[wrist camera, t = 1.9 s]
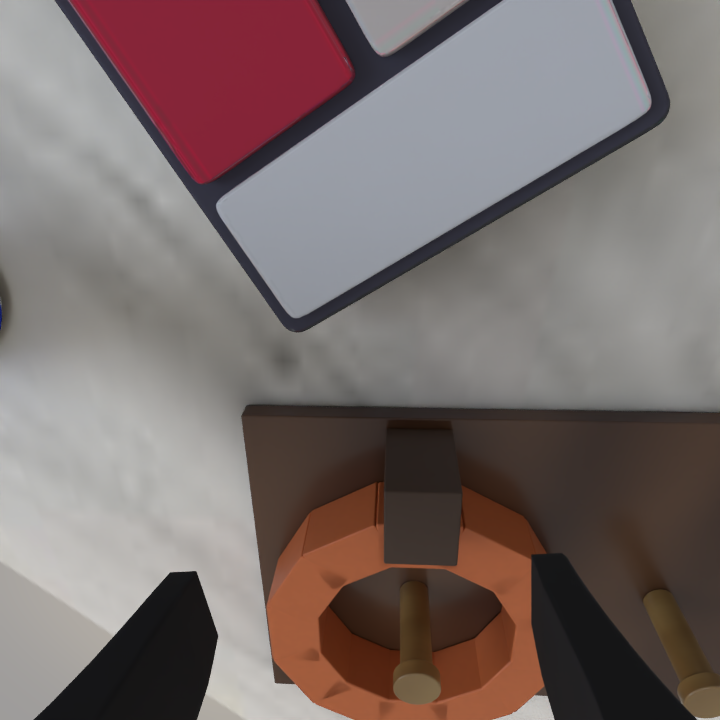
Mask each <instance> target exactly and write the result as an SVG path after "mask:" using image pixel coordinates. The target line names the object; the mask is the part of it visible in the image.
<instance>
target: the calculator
mask: <svg viewBox="0 0 720 720" xmlns="http://www.w3.org/2000/svg"><path fill="white" fill-rule="evenodd" d="M55 1H56V3H57V4H58V6H59V7H60V8H61V10H62V11H63V13H64V14H65V15H66V17H67V18H68V20H69V21H70V23H71V24H72V25H73V27H74V28H75V30H76V31H77V33H78V34H79V35H80V37H81V38H82V40H83V41H84V43H85V44H86V45H87V47H88V48H89V50H90V51H91V53H92V54H93V55H94V57H95V58H96V60H97V61H98V62H99V64H100V65H101V67H102V68H103V70H104V71H105V72H106V74H107V75H108V77H109V78H110V80H111V81H112V82H113V84H114V85H115V87H116V88H117V90H118V91H119V92H120V94H121V95H122V97H123V98H124V99H125V101H126V102H127V104H128V105H129V107H130V108H131V109H132V111H133V112H134V114H135V115H136V117H137V118H138V119H139V121H140V122H141V124H142V125H143V127H144V128H145V129H146V131H147V132H148V134H149V135H150V137H151V138H152V139H153V141H154V142H155V144H156V145H157V146H158V148H159V149H160V151H161V152H162V154H163V155H164V156H165V158H166V159H167V161H168V162H169V164H170V165H171V166H172V168H173V169H174V171H175V172H176V174H177V175H178V176H179V178H180V179H181V181H182V182H183V184H184V185H185V186H186V188H187V189H188V191H189V192H190V193H191V195H192V196H193V198H194V199H195V201H196V202H197V203H198V205H199V206H200V208H201V209H202V211H203V212H204V213H205V215H206V216H207V218H208V219H209V221H210V222H211V223H212V225H213V226H214V228H215V229H216V230H217V232H218V233H219V235H220V236H221V238H222V239H223V240H224V242H225V243H226V245H227V246H228V248H229V249H230V250H231V252H232V253H233V255H234V256H235V258H236V259H237V260H238V262H239V263H240V265H241V266H242V268H243V269H244V270H245V272H246V273H247V275H248V276H249V277H250V279H251V280H252V282H253V283H254V285H255V286H256V287H257V289H258V290H259V292H260V293H261V295H262V296H263V297H264V299H265V300H266V302H267V303H268V305H269V306H270V307H271V309H272V310H273V312H274V313H275V315H276V316H277V317H278V319H279V320H280V321H281V323H282V324H283V325H284V326H285V327H286V328H287V329H288V330H290V331H292V332H303V331H306V330H308V329H310V328H311V327H313V326H315V325H317V324H318V323H320V322H322V321H323V320H325V319H327V318H329V317H330V316H332V315H334V314H335V313H337V312H339V311H341V310H342V309H344V308H346V307H348V306H349V305H351V304H353V303H354V302H356V301H358V300H360V299H361V298H363V297H365V296H366V295H368V294H370V293H372V292H373V291H375V290H377V289H378V288H380V287H382V286H384V285H385V284H387V283H389V282H391V281H392V280H394V279H396V278H397V277H399V276H401V275H403V274H404V273H406V272H408V271H409V270H411V269H413V268H415V267H416V266H418V265H420V264H421V263H423V262H425V261H427V260H428V259H430V258H432V257H434V256H435V255H437V254H439V253H440V252H442V251H444V250H446V249H447V248H449V247H451V246H452V245H454V244H456V243H458V242H459V241H461V240H463V239H464V238H466V237H468V236H470V235H471V234H473V233H475V232H477V231H478V230H480V229H482V228H483V227H485V226H487V225H489V224H490V223H492V222H494V221H495V220H497V219H499V218H501V217H502V216H504V215H506V214H507V213H509V212H511V211H513V210H514V209H516V208H518V207H520V206H521V205H523V204H525V203H526V202H528V201H530V200H532V199H533V198H535V197H537V196H538V195H540V194H542V193H544V192H545V191H547V190H549V189H550V188H552V187H554V186H556V185H557V184H559V183H561V182H563V181H564V180H566V179H568V178H569V177H571V176H573V175H575V174H576V173H578V172H580V171H581V170H583V169H585V168H587V167H588V166H590V165H592V164H593V163H595V162H597V161H599V160H600V159H602V158H604V157H605V156H607V155H609V154H611V153H612V152H614V151H616V150H618V149H619V148H621V147H623V146H624V145H626V144H628V143H630V142H631V141H633V140H635V139H636V138H638V137H640V136H642V135H643V134H645V133H647V132H648V131H650V130H652V129H653V128H655V127H656V126H658V125H659V124H660V123H661V122H662V121H663V120H664V119H665V118H666V116H667V114H668V112H669V108H670V99H669V96H668V92H667V90H666V87H665V85H664V82H663V79H662V77H661V75H660V72H659V70H658V67H657V65H656V62H655V60H654V57H653V55H652V52H651V50H650V47H649V45H648V42H647V40H646V37H645V35H644V32H643V30H642V27H641V25H640V22H639V20H638V17H637V15H636V12H635V10H634V7H633V5H632V2H631V0H55Z"/></svg>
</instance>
